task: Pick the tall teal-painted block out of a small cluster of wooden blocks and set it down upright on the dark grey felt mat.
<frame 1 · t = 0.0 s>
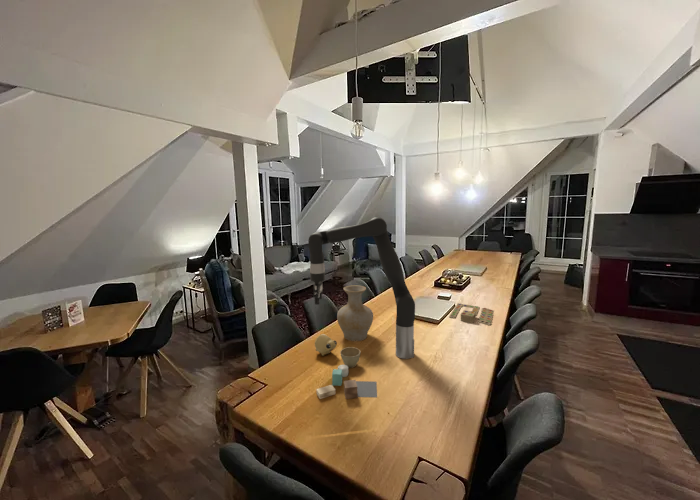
hand: (318, 301, 156), 29 cm above the table, fingers open, 8 cm apart
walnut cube: (350, 394, 125), point 1 cm above the table, touching felt mat
beech slab: (326, 395, 126), on the table
teal block: (337, 384, 134), on the table
vase: (355, 336, 182), on the table
felt mat: (364, 390, 129), on the table
flower pot: (350, 365, 149), on the table
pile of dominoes: (472, 315, 214), on the table
toy pig: (325, 354, 161), on the table
grey cylinder: (343, 375, 140), on the table
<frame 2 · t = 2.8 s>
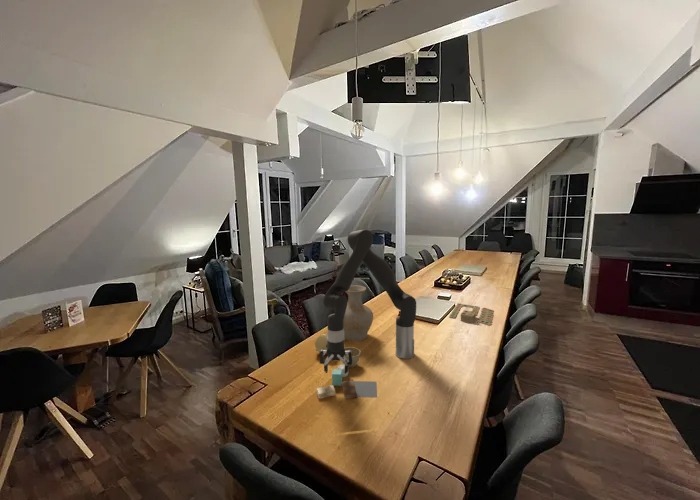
hand: (336, 372, 133), 6 cm above the table, fingers open, 8 cm apart
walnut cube: (350, 394, 125), point 1 cm above the table, tilted 12°, touching felt mat
everything else where it was.
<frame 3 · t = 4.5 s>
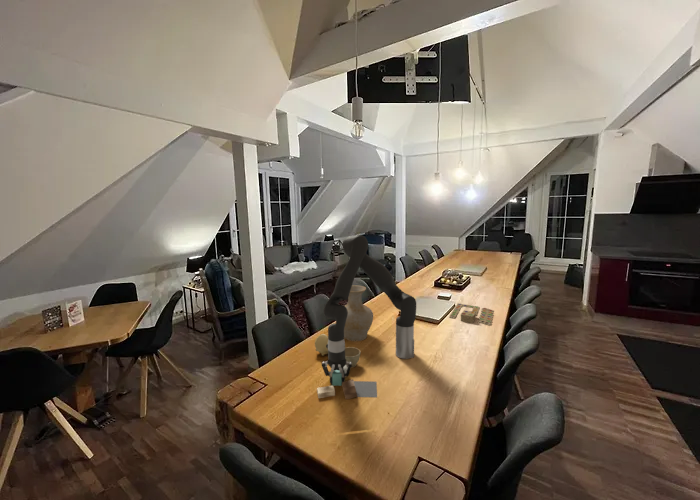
hand: (337, 383, 134), 0 cm above the table, fingers closed on teal block, 4 cm apart
teal block: (337, 384, 134), on the table, touching gripper
everything else where it was.
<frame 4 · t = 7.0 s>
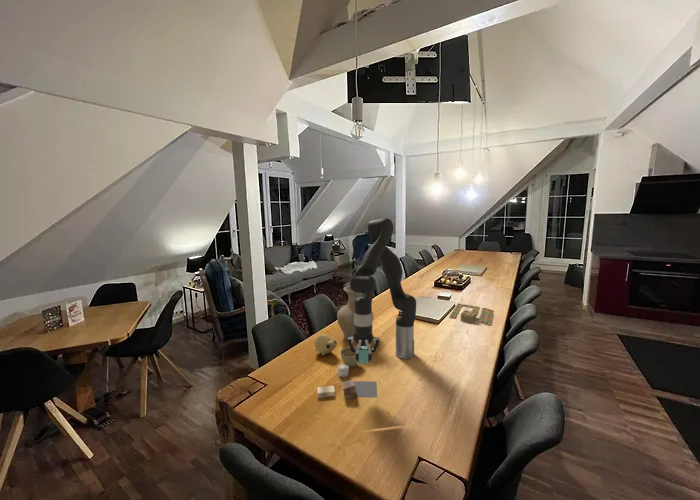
hand: (363, 360, 127), 14 cm above the table, fingers closed on teal block, 4 cm apart
teal block: (363, 361, 127), point 13 cm above the table, touching gripper
everything else where it was.
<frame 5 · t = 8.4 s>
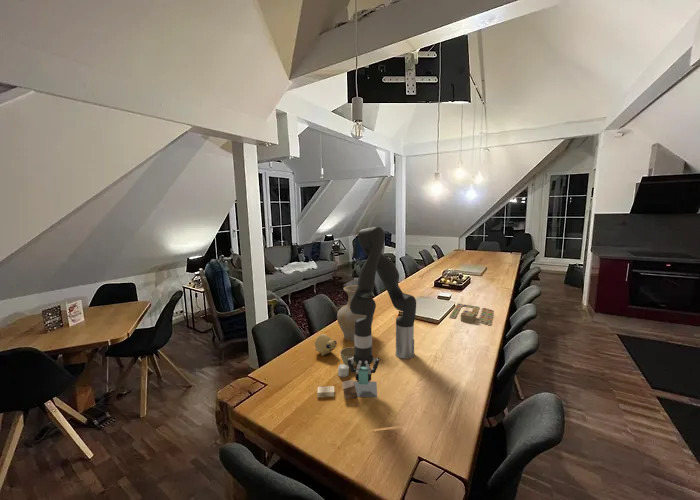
hand: (363, 380, 128), 4 cm above the table, fingers closed on teal block, 4 cm apart
teal block: (363, 381, 128), point 4 cm above the table, touching gripper
everything else where it was.
when the fingers open (2 cm above the table, at t = 9.7 s): teal block drops 1 cm, resting on felt mat.
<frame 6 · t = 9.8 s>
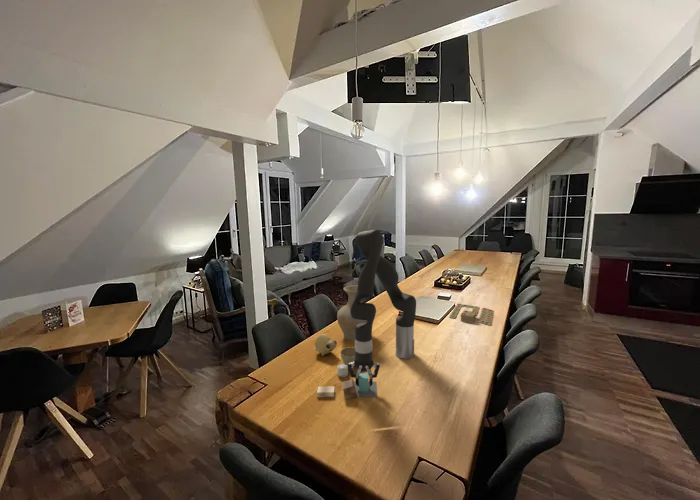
hand: (364, 385, 129), 2 cm above the table, fingers open, 4 cm apart
teal block: (364, 388, 129), point 1 cm above the table, touching felt mat, gripper
everything else where it was.
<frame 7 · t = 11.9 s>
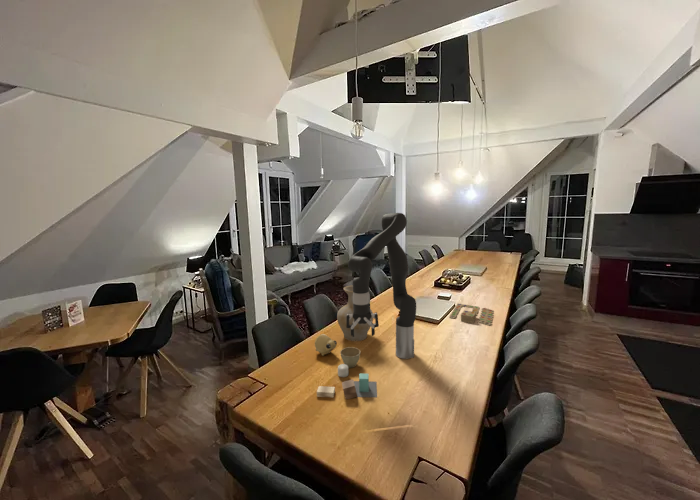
hand: (362, 335, 134), 21 cm above the table, fingers open, 8 cm apart
teal block: (364, 388, 129), point 1 cm above the table, touching felt mat
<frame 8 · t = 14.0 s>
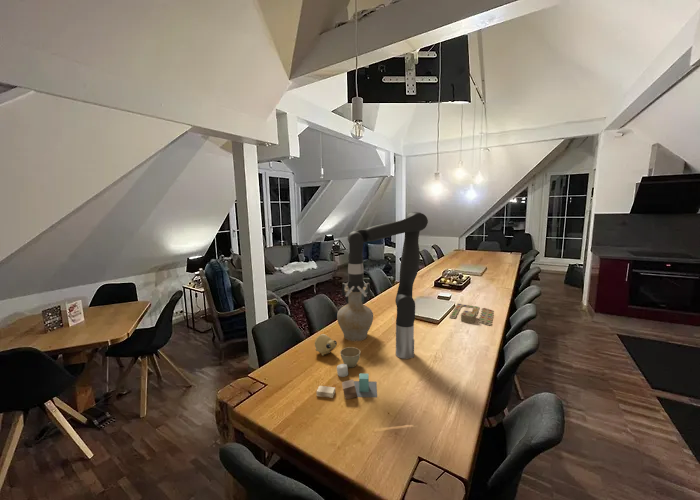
hand: (356, 303, 150), 30 cm above the table, fingers open, 8 cm apart
at the end: teal block inside the target area on the felt mat (0.0 cm from its centre), point 0.6 cm above the felt mat's base; teal block tilted 0°; the gripper is holding nothing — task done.
